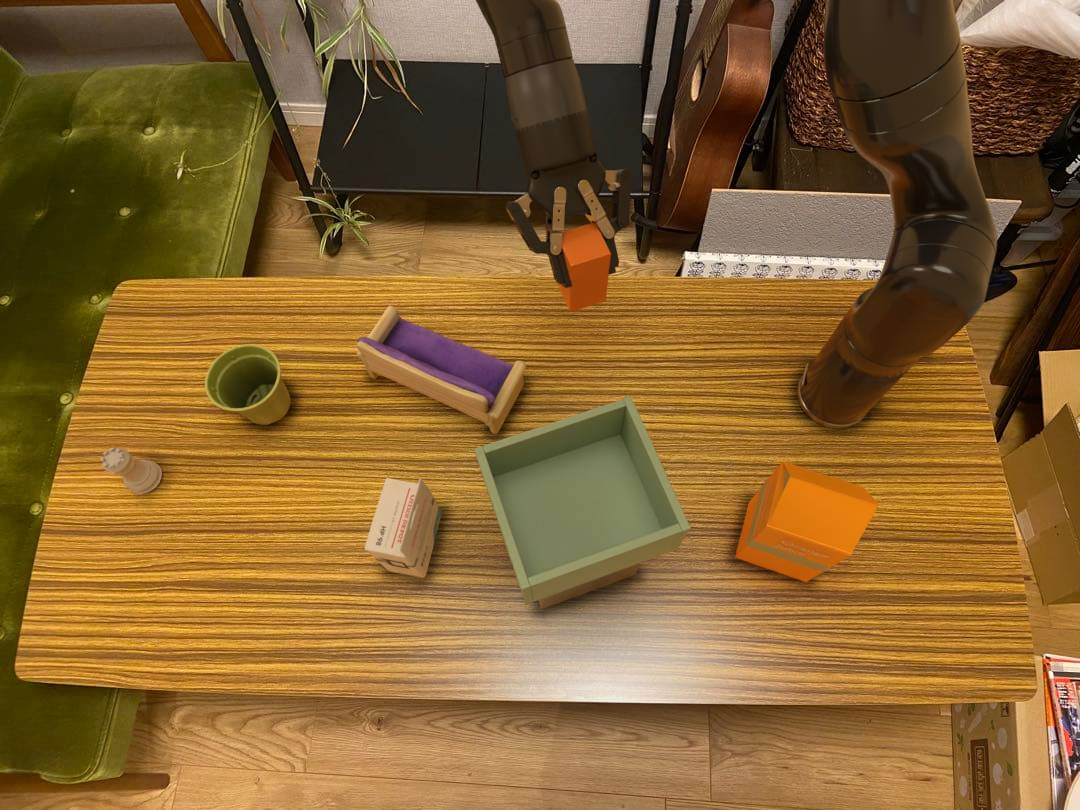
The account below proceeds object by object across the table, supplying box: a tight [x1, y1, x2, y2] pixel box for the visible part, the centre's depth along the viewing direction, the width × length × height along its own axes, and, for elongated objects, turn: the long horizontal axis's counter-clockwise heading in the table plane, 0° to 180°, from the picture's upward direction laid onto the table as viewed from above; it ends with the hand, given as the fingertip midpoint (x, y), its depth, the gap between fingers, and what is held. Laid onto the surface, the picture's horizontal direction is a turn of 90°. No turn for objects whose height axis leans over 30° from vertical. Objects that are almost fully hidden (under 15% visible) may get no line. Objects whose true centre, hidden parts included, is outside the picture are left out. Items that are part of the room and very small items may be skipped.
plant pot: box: [204, 343, 292, 426], centre depth 92 cm, size 9×9×9 cm
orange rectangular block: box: [556, 222, 611, 313], centre depth 78 cm, size 4×4×9 cm
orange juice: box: [734, 460, 880, 583], centre depth 77 cm, size 8×9×20 cm
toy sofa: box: [355, 305, 527, 435], centre depth 92 cm, size 21×9×10 cm, turn 64°
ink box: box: [364, 477, 443, 578], centre depth 81 cm, size 9×5×15 cm, turn 168°
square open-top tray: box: [473, 395, 692, 605], centre depth 67 cm, size 16×14×8 cm
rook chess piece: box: [100, 447, 163, 495], centre depth 88 cm, size 4×4×8 cm
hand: (588, 278), depth 77 cm, fingers closed on orange rectangular block, 4 cm apart
